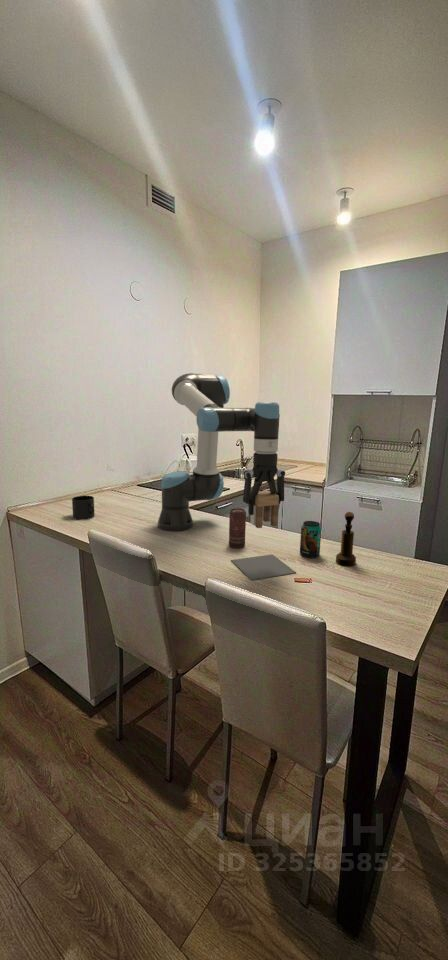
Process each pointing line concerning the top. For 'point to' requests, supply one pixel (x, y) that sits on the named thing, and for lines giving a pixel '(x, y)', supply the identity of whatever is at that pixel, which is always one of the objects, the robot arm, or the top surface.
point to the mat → (262, 567)
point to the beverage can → (310, 539)
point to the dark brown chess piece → (347, 544)
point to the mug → (83, 507)
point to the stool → (266, 508)
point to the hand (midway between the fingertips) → (262, 523)
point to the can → (237, 528)
